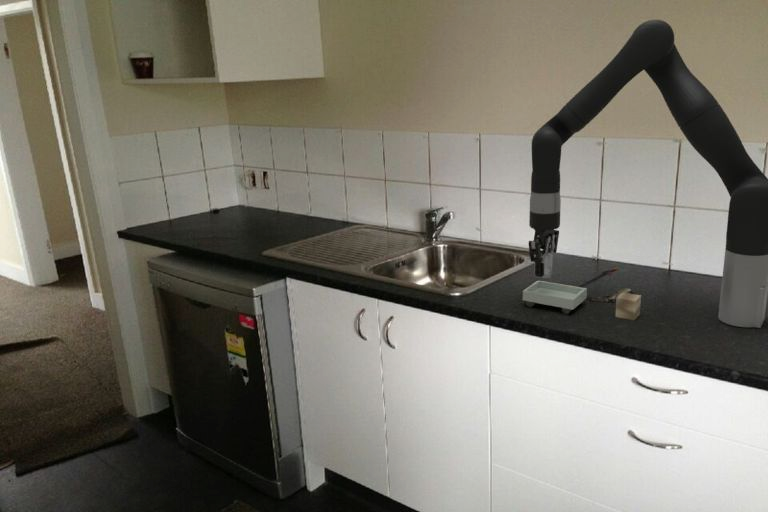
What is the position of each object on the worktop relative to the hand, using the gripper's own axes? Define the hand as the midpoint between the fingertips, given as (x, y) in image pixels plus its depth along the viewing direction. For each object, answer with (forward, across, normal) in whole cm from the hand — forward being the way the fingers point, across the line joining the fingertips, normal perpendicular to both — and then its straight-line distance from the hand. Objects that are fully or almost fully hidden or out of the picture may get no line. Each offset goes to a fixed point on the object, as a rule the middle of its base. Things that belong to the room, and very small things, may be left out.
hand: (543, 273), depth 166 cm
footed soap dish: (+8, 0, -3) cm, 9 cm away
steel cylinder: (+1, 0, 0) cm, 1 cm away
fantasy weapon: (+9, +22, -11) cm, 26 cm away
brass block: (+8, +2, -21) cm, 23 cm away
